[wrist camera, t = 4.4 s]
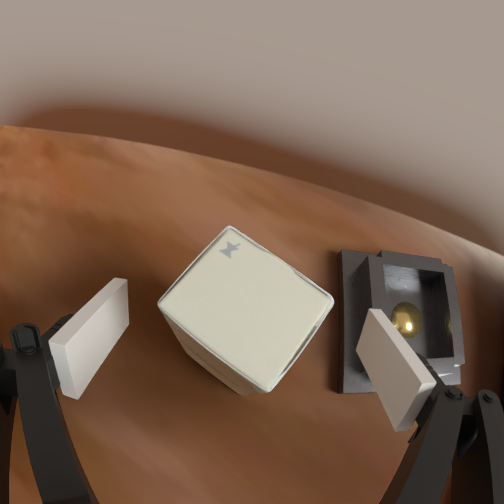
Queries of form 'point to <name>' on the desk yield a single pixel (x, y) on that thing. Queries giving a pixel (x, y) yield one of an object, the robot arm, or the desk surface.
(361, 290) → the collar
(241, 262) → the box
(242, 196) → the desk surface
